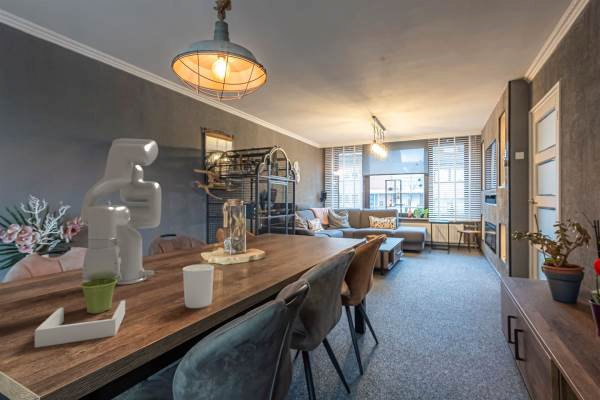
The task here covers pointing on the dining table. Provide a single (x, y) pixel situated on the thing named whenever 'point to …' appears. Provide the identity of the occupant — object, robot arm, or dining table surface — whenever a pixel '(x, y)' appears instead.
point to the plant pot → (98, 295)
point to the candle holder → (198, 285)
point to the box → (76, 328)
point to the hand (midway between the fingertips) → (102, 300)
